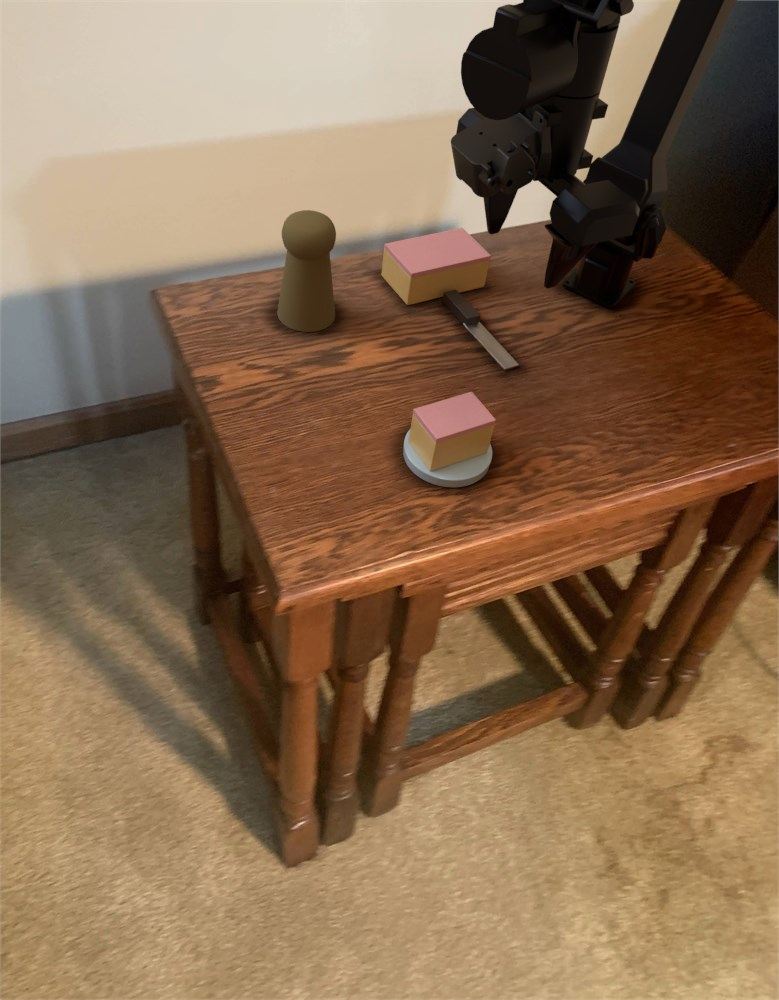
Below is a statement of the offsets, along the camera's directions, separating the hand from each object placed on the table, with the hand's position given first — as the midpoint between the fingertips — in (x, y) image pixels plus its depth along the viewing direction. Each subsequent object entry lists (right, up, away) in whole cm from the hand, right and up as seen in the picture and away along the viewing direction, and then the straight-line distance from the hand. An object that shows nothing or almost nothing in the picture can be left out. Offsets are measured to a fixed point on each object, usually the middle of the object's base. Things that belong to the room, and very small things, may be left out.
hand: (520, 259), depth 76 cm
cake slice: (-7, -17, -1) cm, 19 cm away
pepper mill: (-21, -3, +11) cm, 24 cm away
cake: (-7, +3, +17) cm, 19 cm away
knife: (-3, -4, +12) cm, 13 cm away
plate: (-7, -18, -1) cm, 19 cm away
